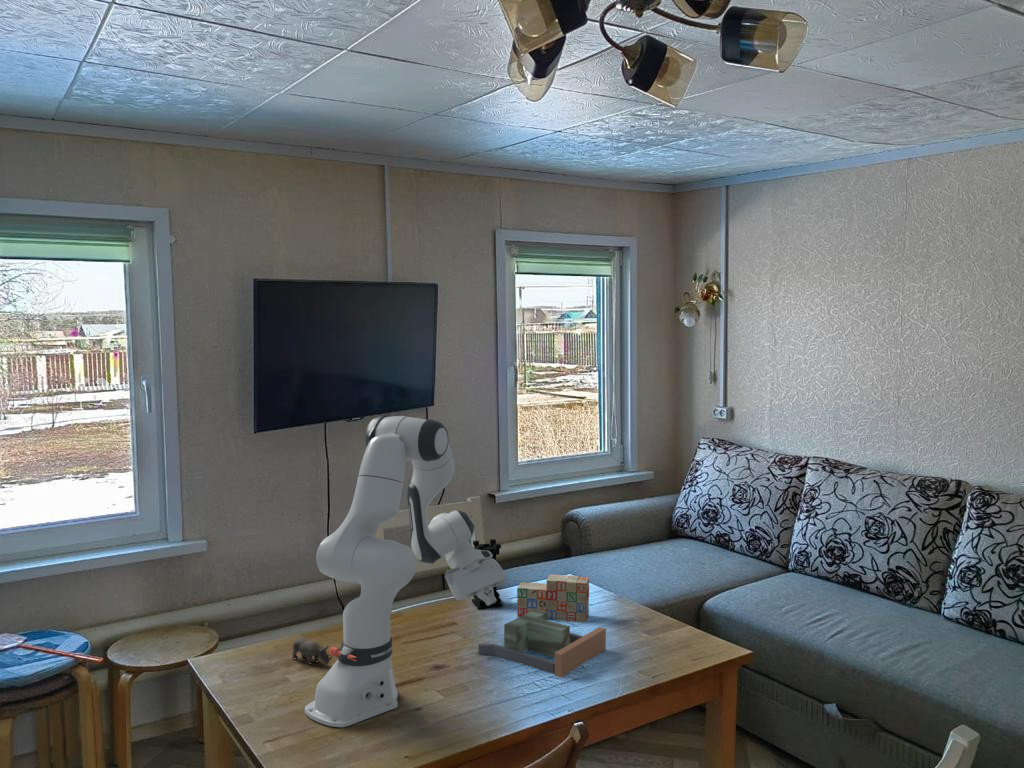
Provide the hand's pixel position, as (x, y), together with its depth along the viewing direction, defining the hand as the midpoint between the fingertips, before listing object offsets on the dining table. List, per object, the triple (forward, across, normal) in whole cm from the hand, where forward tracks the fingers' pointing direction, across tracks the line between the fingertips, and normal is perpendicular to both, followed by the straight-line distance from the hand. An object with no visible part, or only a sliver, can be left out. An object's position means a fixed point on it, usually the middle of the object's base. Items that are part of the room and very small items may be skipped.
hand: (492, 603), depth 235 cm
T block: (+19, 0, -5) cm, 20 cm away
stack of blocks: (+10, +24, +4) cm, 26 cm away
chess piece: (-6, +20, +20) cm, 29 cm away
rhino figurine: (-12, -43, +26) cm, 51 cm away
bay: (+20, 0, -6) cm, 20 cm away
